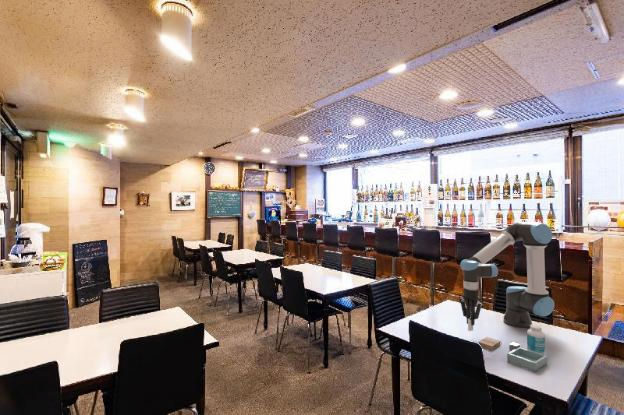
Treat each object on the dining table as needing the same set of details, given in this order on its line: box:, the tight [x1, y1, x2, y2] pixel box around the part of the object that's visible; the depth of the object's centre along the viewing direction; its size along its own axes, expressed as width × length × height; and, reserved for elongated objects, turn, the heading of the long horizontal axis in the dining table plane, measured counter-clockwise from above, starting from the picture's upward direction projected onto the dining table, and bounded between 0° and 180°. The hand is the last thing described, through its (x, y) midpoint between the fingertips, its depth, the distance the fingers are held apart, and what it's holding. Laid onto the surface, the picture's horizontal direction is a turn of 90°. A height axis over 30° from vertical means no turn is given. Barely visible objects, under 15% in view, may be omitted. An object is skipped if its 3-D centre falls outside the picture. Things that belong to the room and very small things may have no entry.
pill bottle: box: [526, 324, 546, 356], centre depth 158 cm, size 8×7×14 cm
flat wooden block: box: [477, 336, 501, 351], centre depth 168 cm, size 10×7×2 cm
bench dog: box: [509, 341, 521, 352], centre depth 158 cm, size 4×3×5 cm
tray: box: [506, 346, 548, 373], centre depth 149 cm, size 12×12×4 cm
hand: (470, 330), depth 176 cm, fingers closed
